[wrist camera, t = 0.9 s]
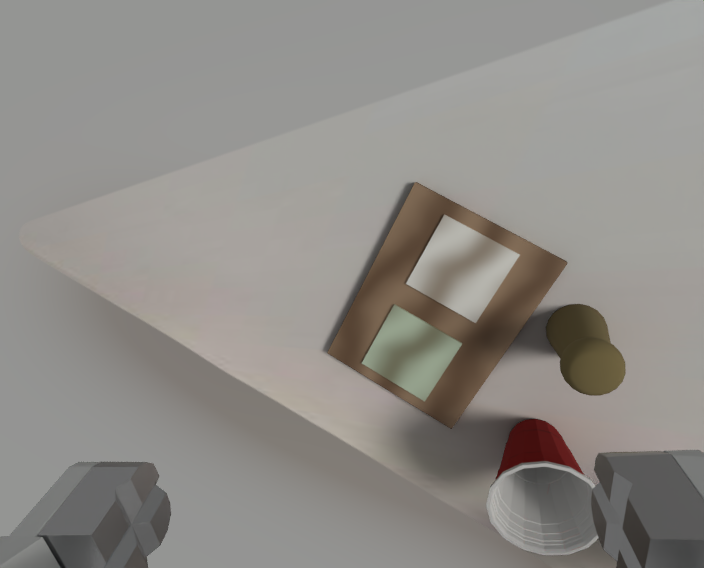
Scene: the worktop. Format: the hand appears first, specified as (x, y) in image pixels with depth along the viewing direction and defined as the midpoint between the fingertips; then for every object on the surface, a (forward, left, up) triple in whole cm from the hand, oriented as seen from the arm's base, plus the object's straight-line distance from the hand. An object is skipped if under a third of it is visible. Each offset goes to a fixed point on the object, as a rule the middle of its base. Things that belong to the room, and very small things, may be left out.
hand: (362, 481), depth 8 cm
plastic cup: (-19, +20, -45) cm, 52 cm away
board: (-1, +12, -44) cm, 46 cm away
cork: (-15, +6, -45) cm, 47 cm away
